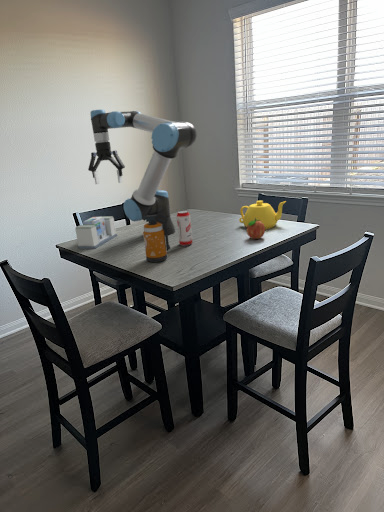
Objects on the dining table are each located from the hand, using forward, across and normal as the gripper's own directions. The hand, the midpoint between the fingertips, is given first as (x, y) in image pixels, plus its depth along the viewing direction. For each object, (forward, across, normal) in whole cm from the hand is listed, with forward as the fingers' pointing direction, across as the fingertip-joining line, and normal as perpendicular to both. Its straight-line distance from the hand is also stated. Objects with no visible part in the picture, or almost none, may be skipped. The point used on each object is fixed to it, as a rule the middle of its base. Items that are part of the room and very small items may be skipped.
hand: (108, 183), depth 207 cm
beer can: (+29, -45, +17) cm, 57 cm away
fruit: (+29, -78, +8) cm, 83 cm away
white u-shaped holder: (+28, +4, +13) cm, 32 cm away
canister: (+29, -40, +39) cm, 63 cm away
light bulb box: (+27, +5, +13) cm, 30 cm away
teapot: (+29, -78, -14) cm, 85 cm away
